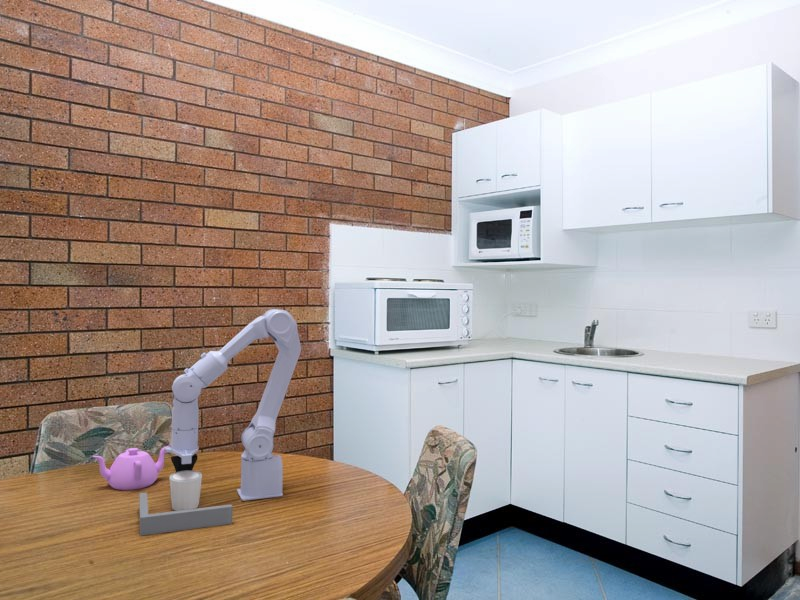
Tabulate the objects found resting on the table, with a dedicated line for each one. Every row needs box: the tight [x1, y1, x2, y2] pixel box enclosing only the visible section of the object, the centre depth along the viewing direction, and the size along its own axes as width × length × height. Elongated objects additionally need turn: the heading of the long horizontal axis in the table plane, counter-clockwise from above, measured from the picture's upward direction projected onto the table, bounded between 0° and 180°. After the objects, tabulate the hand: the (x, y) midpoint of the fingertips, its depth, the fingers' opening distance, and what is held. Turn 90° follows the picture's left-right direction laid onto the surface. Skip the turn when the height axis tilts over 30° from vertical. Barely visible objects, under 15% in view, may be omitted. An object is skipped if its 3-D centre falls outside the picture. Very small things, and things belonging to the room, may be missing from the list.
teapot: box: [92, 444, 171, 491], centre depth 151 cm, size 12×14×9 cm
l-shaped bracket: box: [138, 492, 234, 537], centre depth 130 cm, size 18×16×4 cm
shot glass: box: [169, 469, 203, 511], centre depth 135 cm, size 7×7×7 cm
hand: (183, 487), depth 139 cm, fingers closed, pressing on shot glass
